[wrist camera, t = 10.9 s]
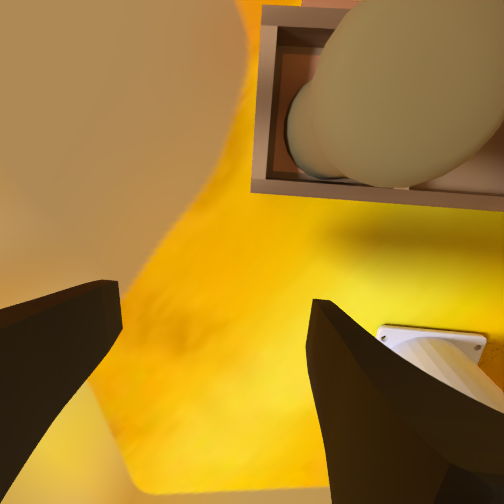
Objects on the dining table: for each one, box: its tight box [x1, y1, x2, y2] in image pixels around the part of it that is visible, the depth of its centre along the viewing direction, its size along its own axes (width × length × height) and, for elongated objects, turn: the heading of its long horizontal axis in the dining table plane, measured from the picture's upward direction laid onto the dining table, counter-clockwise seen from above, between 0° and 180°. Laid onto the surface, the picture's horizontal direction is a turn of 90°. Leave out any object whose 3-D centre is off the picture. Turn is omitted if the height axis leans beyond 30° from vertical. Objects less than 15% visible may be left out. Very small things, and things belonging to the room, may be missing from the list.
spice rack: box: [250, 0, 504, 212], centre depth 15 cm, size 9×25×3 cm, turn 86°
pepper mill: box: [283, 0, 504, 188], centre depth 11 cm, size 6×6×11 cm
